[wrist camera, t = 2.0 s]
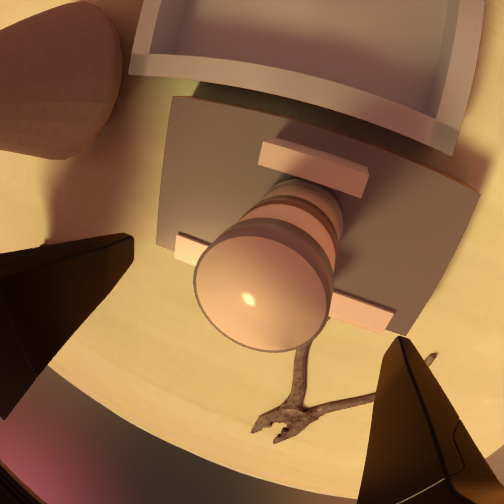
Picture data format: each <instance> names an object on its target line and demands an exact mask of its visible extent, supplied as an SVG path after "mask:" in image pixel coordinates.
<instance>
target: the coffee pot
mask: <svg viewBox="0 0 504 504" xmlns="http://www.w3.org/2000/svg"><path fill="white" fill-rule="evenodd" d="M122 70H123V56H122V49H121V42H120V37H119V35H118V32H117V30H116V28H115V25H114V23H113V22H112V21H111V20H110V19H109V18H108V17H107V16H106V15H105V13H104V12H103V11H102V10H101V9H100V8H99V7H97V6H95V5H92V4H89V3H86V2H75V3H67V4H64V5H61V6H58V7H55V8H52V9H50V10H47V11H44V12H41V13H39V14H36V15H34V16H31V17H29V18H26V19H24V20H22V21H19V22H17V23H15V24H13V25H10V26H8V27H6V28H4V29H2V30H0V150H4V151H10V152H15V153H20V154H25V155H30V156H36V157H41V158H46V159H54V160H65V159H67V158H69V157H71V156H74V155H76V154H78V153H80V152H81V151H82V150H83V149H84V148H85V147H86V146H87V145H88V144H89V143H90V142H91V141H92V140H93V139H95V138H96V137H97V136H98V135H99V133H100V131H101V130H102V128H103V127H104V125H105V124H106V122H107V121H108V119H109V117H110V114H111V112H112V109H113V107H114V105H115V102H116V100H117V97H118V93H119V89H120V85H121V81H122Z"/></svg>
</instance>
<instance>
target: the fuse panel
mask: <svg viewBox="0 0 504 504" xmlns="http://www.w3.org/2000/svg"><path fill="white" fill-rule="evenodd" d="M292 177H300V178H303V179H306V180H309V181H312V182H315V183H318V184H321V185H324V186H327V187H328V188H329V189H330V190H331V191H332V192H333V193H334V194H335V195H336V197H337V198H338V200H339V202H340V204H341V206H342V210H343V215H344V226H343V233H342V239H341V242H340V245H339V252H338V258H337V264H336V269H335V272H334V289H333V295H332V300H331V305H330V311H329V315H328V316H329V317H332V318H334V319H337V320H340V321H343V322H346V323H349V324H352V325H354V326H357V327H360V328H363V329H366V330H369V331H372V332H375V333H378V334H381V335H382V333H383V331H384V330H385V329H386V330H389V331H392V332H395V333H398V334H401V335H404V336H406V335H407V333H408V332H409V330H410V329H411V327H412V326H413V324H414V323H415V321H416V319H417V318H418V316H419V315H420V313H421V311H422V310H423V308H424V307H425V305H426V303H427V302H428V300H429V298H430V297H431V295H432V293H433V291H434V290H435V288H436V286H437V284H438V283H439V281H440V279H441V277H442V275H443V274H444V272H445V270H446V268H447V266H448V264H449V262H450V260H451V259H452V257H453V255H454V253H455V251H456V249H457V247H458V245H459V242H460V240H461V238H462V236H463V234H464V232H465V230H466V228H467V225H468V223H469V221H470V219H471V216H472V214H473V212H474V209H475V207H476V205H477V202H478V200H479V197H480V195H481V194H480V193H478V192H477V191H476V190H475V189H473V188H472V187H471V186H469V185H468V184H466V183H464V182H462V181H460V180H458V179H456V178H454V177H452V176H450V175H448V174H446V173H444V172H442V171H439V170H437V169H435V168H433V167H431V166H428V165H426V164H424V163H422V162H419V161H417V160H415V159H412V158H410V157H408V156H405V155H403V154H400V153H398V152H395V151H393V150H390V149H388V148H385V147H383V146H380V145H377V144H375V143H372V142H369V141H366V140H364V139H361V138H358V137H355V136H352V135H349V134H346V133H343V132H340V131H337V130H334V129H331V128H328V127H324V126H321V125H318V124H314V123H311V122H307V121H304V120H300V119H297V118H293V117H289V116H285V115H282V114H278V113H274V112H269V111H265V110H261V109H257V108H252V107H248V106H243V105H238V104H233V103H228V102H223V101H218V100H212V99H206V98H200V97H194V96H173V97H172V103H171V109H170V116H169V122H168V129H167V136H166V144H165V151H164V159H163V168H162V177H161V187H160V197H159V209H158V222H157V237H156V244H157V245H159V246H162V247H164V248H167V249H169V250H172V251H174V252H175V255H174V258H176V259H178V260H181V261H183V262H186V263H188V264H191V265H193V266H196V264H197V261H198V259H199V257H200V256H201V254H202V253H203V252H204V251H205V249H206V248H207V247H208V246H209V245H210V244H211V243H212V242H214V241H215V240H216V239H217V238H218V237H219V236H220V235H221V234H222V233H223V232H224V231H225V230H227V229H228V228H229V227H231V226H232V225H234V224H236V223H237V222H238V221H239V219H240V218H241V217H242V216H243V215H244V214H245V213H246V212H247V211H248V210H249V209H251V208H252V207H253V206H254V205H255V204H256V203H258V201H259V200H260V198H261V197H262V196H263V195H264V194H265V193H266V192H267V191H268V190H269V189H270V188H271V187H273V186H274V185H275V184H277V183H278V182H280V181H282V180H284V179H288V178H292Z"/></svg>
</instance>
